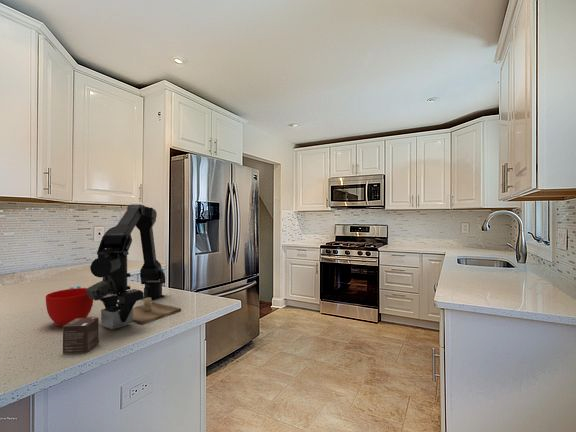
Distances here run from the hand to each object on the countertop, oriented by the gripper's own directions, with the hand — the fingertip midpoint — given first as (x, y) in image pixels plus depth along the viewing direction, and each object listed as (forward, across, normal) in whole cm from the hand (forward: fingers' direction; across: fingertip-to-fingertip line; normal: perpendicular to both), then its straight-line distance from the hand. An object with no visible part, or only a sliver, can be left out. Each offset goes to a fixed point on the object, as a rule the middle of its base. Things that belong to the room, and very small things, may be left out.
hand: (117, 320), depth 97 cm
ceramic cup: (+2, -18, -4) cm, 19 cm away
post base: (+2, -3, +13) cm, 14 cm away
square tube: (+1, 0, 0) cm, 1 cm away
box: (+2, +7, -14) cm, 16 cm away
